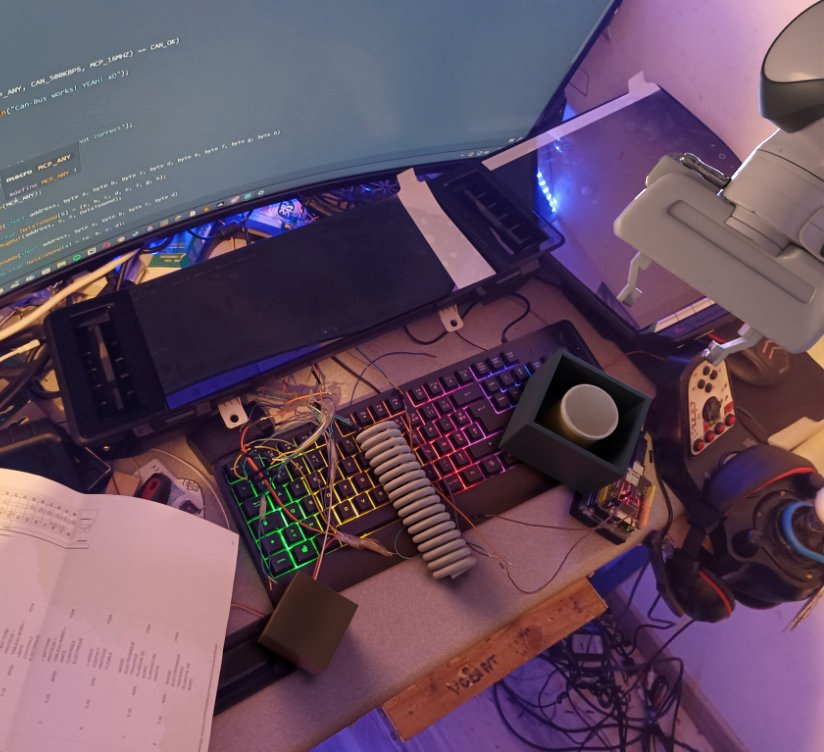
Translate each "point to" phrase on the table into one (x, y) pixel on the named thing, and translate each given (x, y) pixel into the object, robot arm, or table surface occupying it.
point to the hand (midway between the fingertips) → (664, 332)
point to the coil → (416, 501)
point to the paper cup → (582, 416)
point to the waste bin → (558, 454)
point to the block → (308, 624)
